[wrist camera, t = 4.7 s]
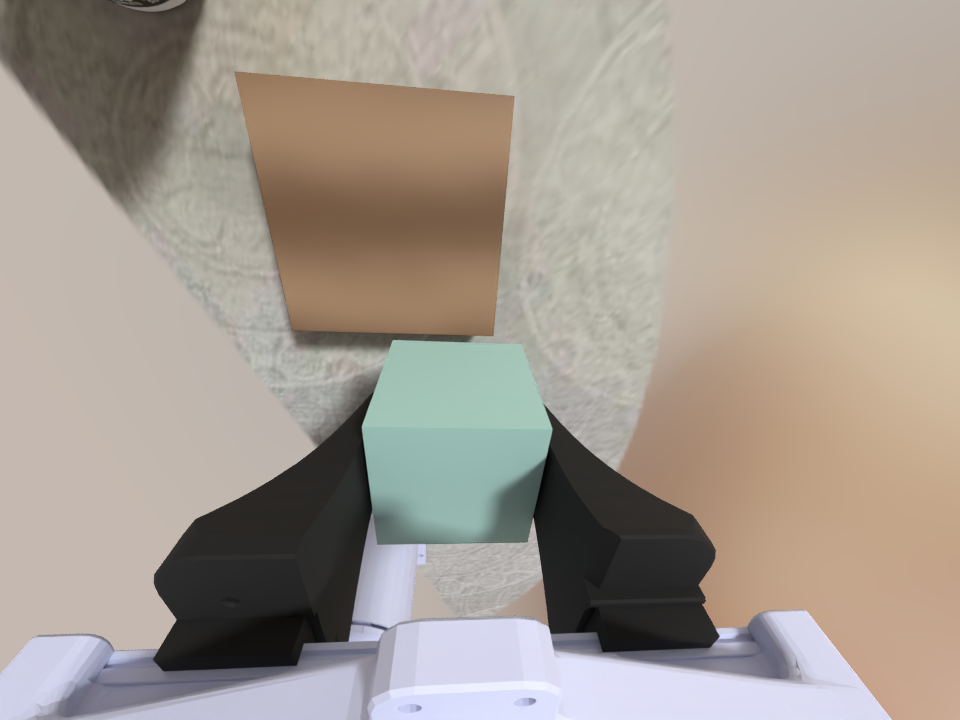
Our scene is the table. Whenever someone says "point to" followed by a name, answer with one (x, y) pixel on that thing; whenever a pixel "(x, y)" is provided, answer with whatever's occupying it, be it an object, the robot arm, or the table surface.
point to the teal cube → (455, 444)
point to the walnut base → (382, 201)
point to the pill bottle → (149, 4)
